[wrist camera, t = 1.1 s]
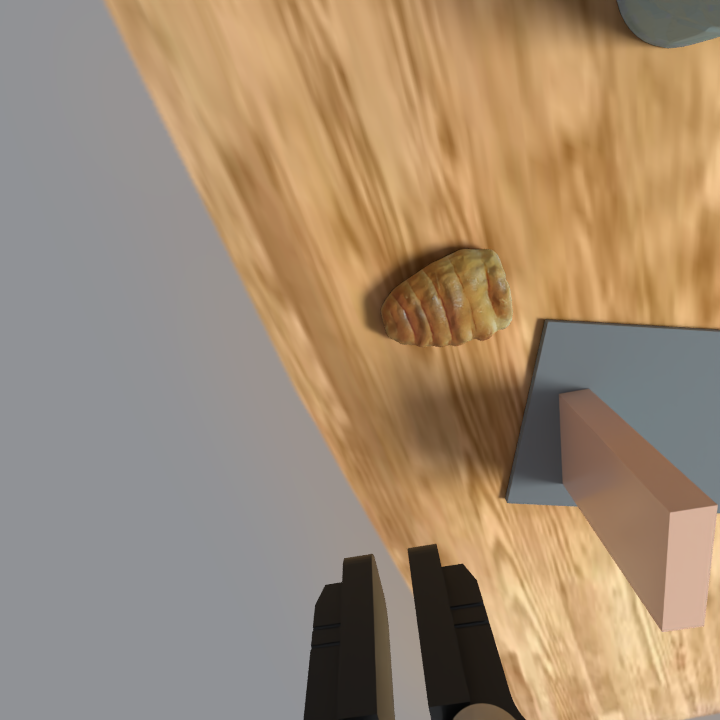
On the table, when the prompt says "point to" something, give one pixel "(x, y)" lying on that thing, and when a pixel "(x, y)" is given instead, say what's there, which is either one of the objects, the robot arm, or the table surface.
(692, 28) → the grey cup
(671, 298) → the table surface
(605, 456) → the tile
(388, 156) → the table surface
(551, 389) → the mat
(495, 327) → the pastry
